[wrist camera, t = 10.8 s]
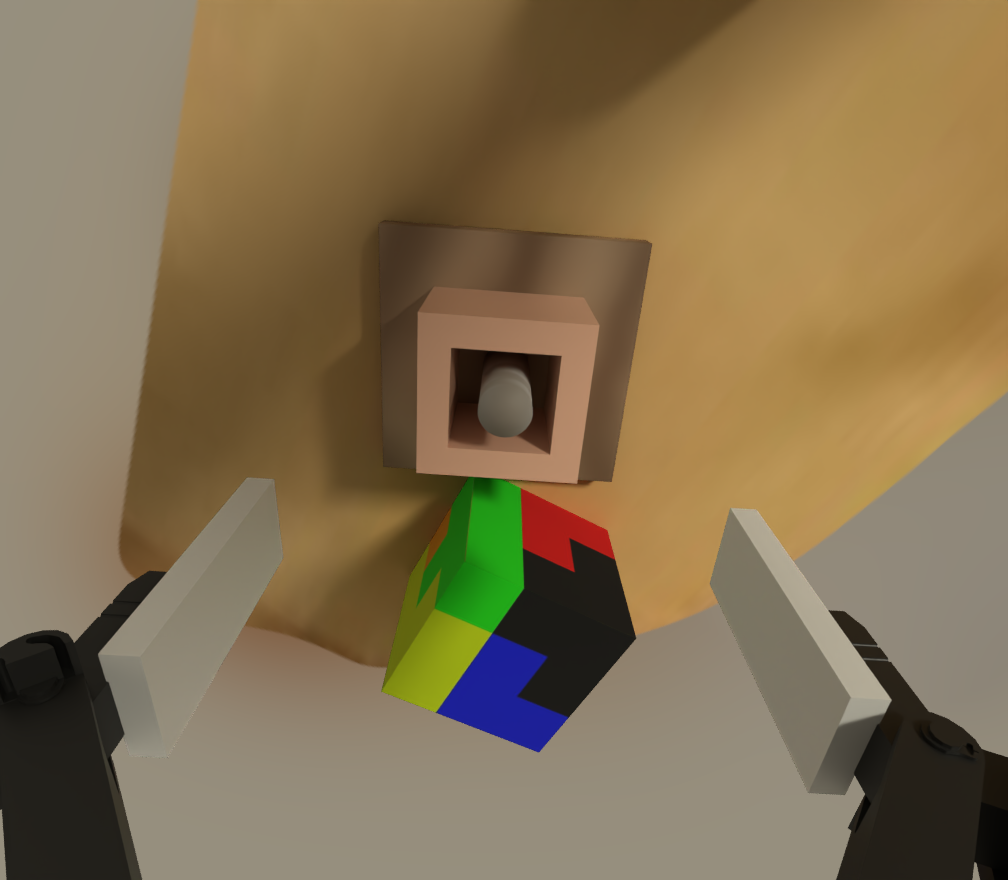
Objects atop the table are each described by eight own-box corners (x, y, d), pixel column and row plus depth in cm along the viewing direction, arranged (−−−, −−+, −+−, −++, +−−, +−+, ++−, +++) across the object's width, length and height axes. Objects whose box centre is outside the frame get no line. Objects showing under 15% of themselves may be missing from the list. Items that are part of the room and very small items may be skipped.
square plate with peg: (645, 240, 31) (690, 264, 24) (607, 470, 37) (633, 549, 30) (384, 220, 31) (342, 238, 23) (387, 455, 37) (355, 531, 29)
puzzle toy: (532, 629, 43) (538, 752, 34) (409, 575, 41) (381, 691, 32) (607, 529, 39) (636, 638, 30) (475, 465, 37) (464, 561, 28)
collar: (583, 297, 31) (599, 325, 26) (566, 433, 35) (577, 483, 29) (433, 286, 31) (417, 312, 26) (431, 424, 34) (416, 472, 29)
